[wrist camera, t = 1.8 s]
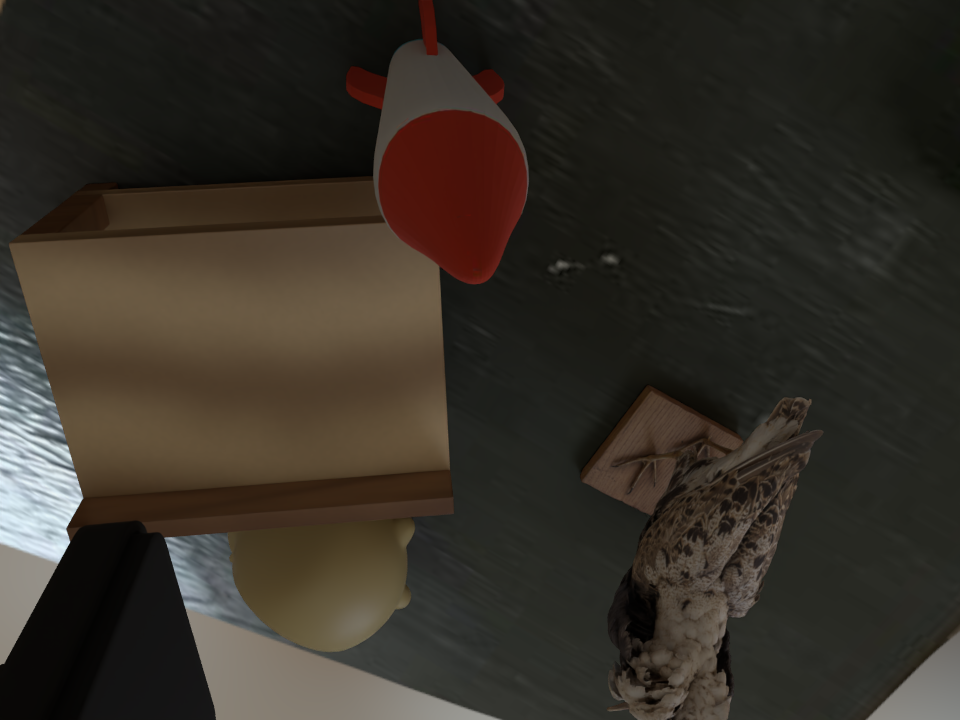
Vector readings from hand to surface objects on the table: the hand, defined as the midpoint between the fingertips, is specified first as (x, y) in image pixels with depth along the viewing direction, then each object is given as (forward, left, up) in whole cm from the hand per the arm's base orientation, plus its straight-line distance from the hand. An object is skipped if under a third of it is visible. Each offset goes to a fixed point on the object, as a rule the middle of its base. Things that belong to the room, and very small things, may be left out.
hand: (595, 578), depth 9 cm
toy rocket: (-1, -1, -38) cm, 38 cm away
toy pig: (+26, -9, -38) cm, 47 cm away
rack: (+11, -10, -38) cm, 41 cm away
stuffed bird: (+24, +13, -38) cm, 47 cm away
